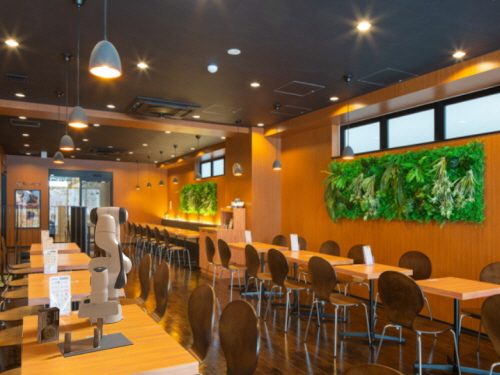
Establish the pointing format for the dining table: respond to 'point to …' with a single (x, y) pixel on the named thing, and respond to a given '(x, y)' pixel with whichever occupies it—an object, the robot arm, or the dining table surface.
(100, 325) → the gate
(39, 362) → the dining table surface
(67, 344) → the fence fixed
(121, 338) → the board
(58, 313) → the coffee box
